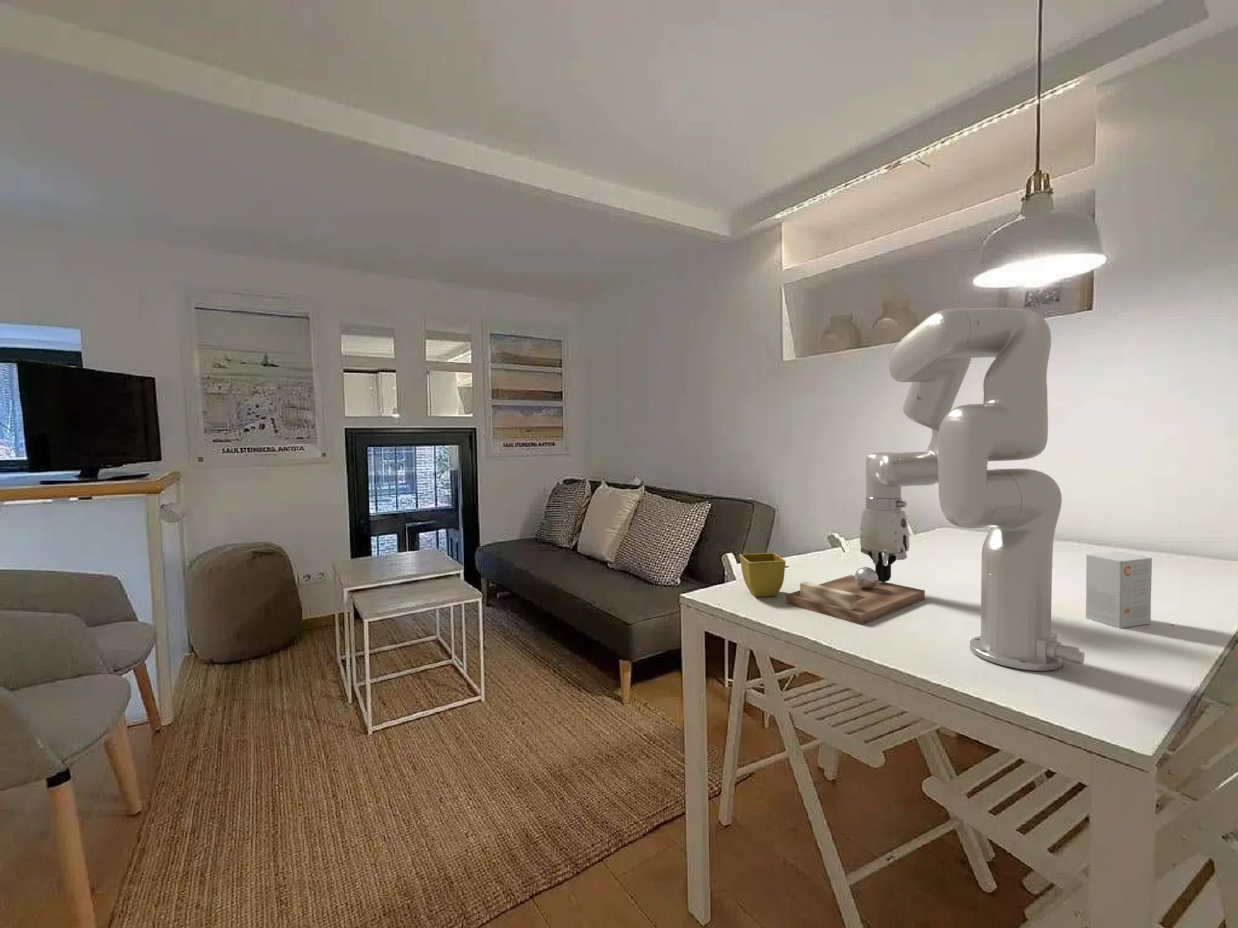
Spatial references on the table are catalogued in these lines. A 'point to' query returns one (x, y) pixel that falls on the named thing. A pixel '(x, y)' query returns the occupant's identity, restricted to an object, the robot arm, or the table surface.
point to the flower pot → (763, 573)
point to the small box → (1118, 589)
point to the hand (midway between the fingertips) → (883, 580)
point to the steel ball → (866, 578)
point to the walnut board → (863, 600)
